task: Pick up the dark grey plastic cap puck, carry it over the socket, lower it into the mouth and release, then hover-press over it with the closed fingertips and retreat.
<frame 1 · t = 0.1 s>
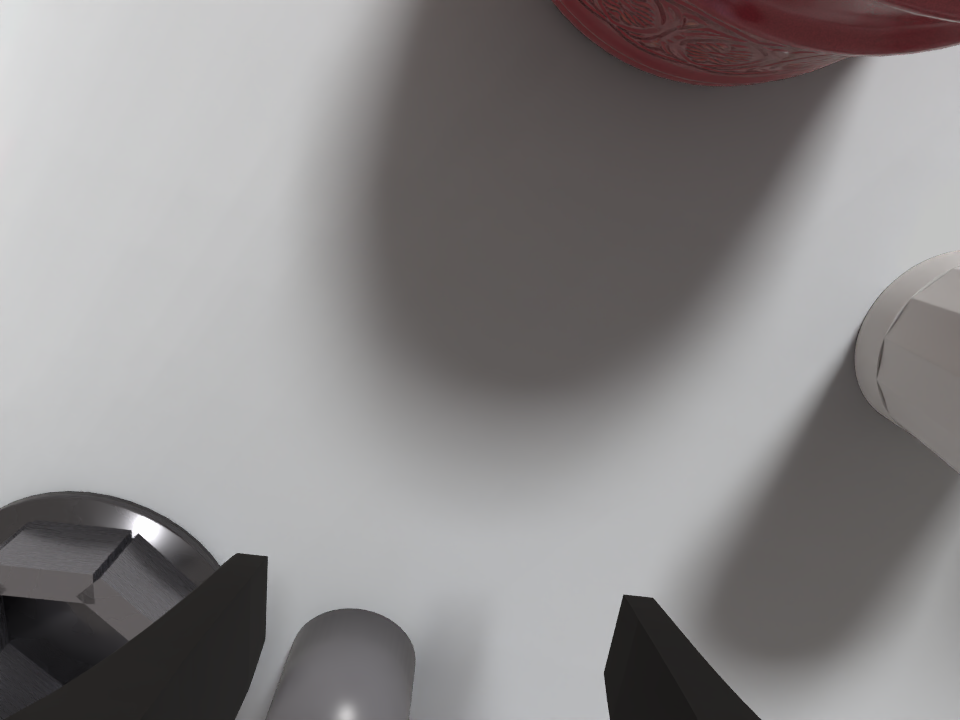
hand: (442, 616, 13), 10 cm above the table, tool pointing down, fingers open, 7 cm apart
cup: (945, 341, 22), on the table
cap: (353, 658, 26), on the table
socket: (99, 614, 25), on the table
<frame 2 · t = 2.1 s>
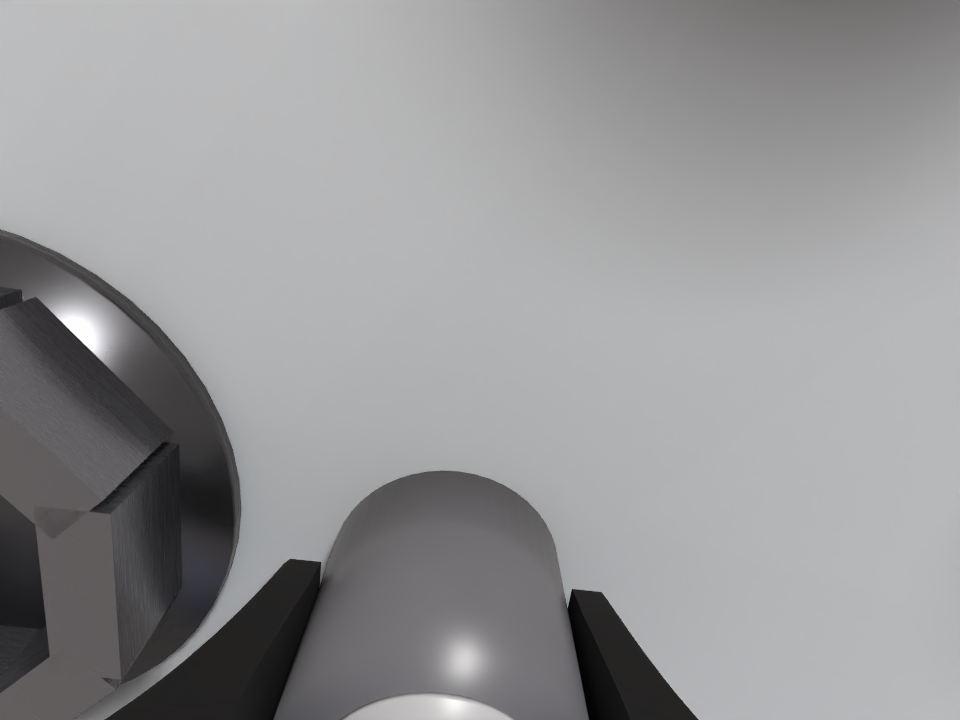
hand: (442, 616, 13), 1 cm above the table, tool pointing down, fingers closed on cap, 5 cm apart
cap: (445, 570, 14), on the table, touching gripper
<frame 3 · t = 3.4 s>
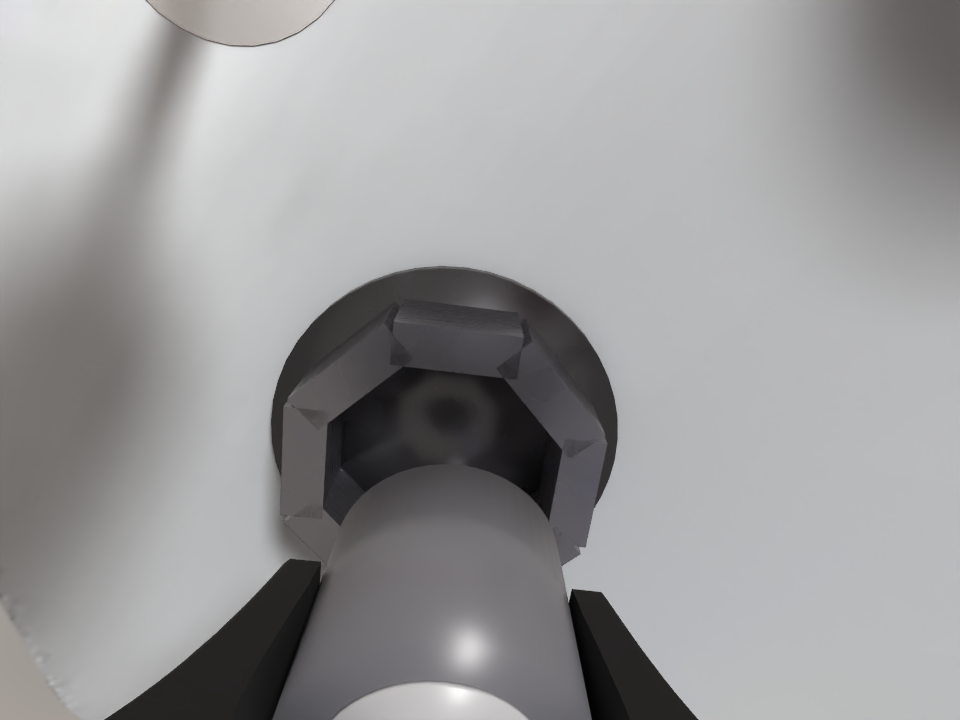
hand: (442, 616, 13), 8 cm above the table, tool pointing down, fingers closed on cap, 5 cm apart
cap: (446, 564, 14), point 7 cm above the table, touching gripper
socket: (445, 433, 21), on the table
when the fingers open (3 cm above the table, at t = 4.9 s): cap drops 1 cm, resting on socket.
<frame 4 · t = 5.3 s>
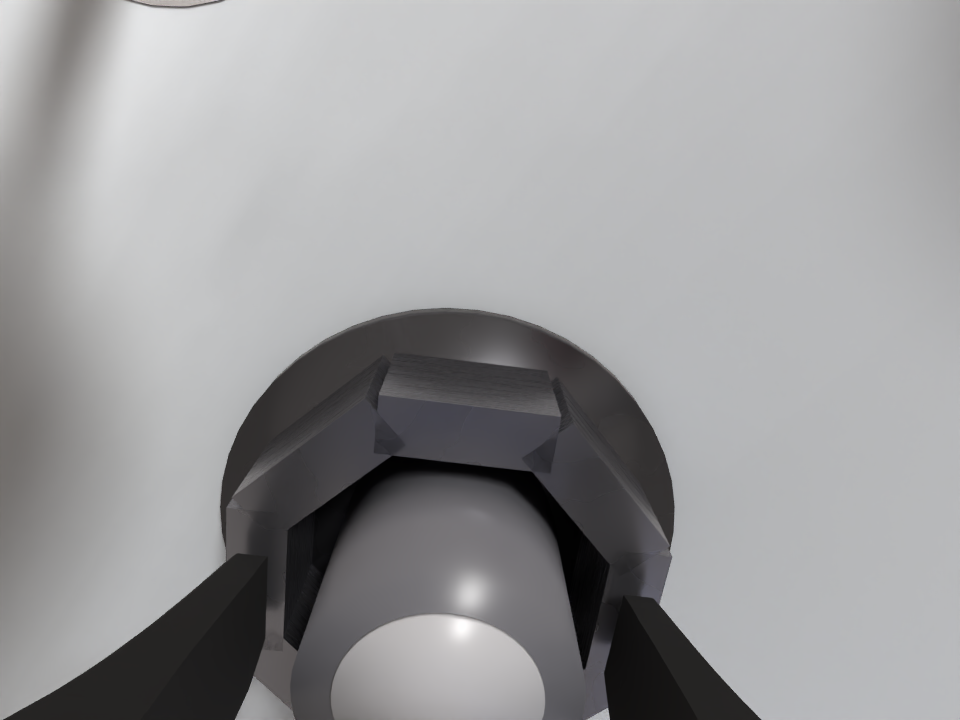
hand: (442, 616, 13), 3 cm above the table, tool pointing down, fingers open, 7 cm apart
cap: (449, 528, 16), resting on socket
socket: (449, 520, 16), on the table
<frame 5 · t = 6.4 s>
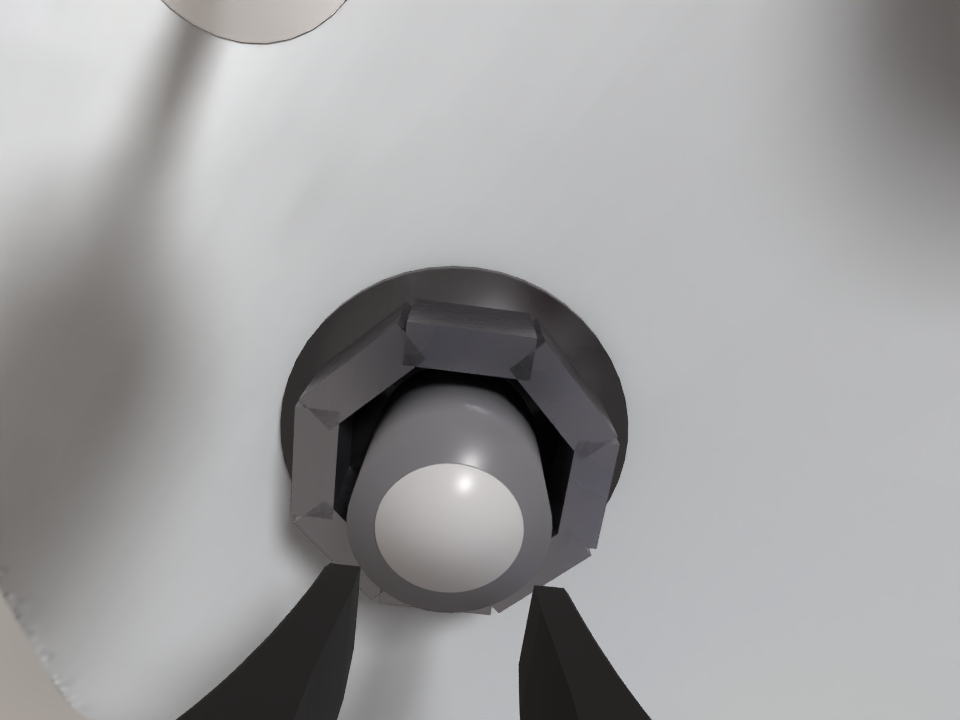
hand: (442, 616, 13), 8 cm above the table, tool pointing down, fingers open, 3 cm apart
cap: (456, 438, 20), point 1 cm above the table, touching socket
socket: (455, 434, 21), on the table
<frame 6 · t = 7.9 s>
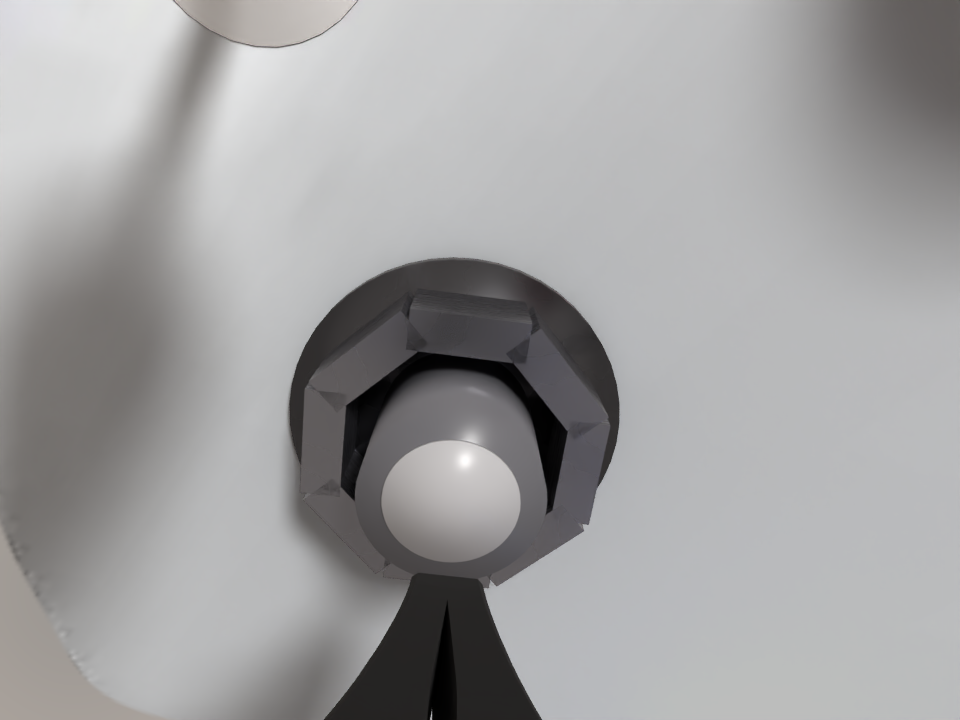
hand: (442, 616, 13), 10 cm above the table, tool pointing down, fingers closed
cap: (456, 421, 21), point 1 cm above the table, touching socket
socket: (455, 417, 22), on the table
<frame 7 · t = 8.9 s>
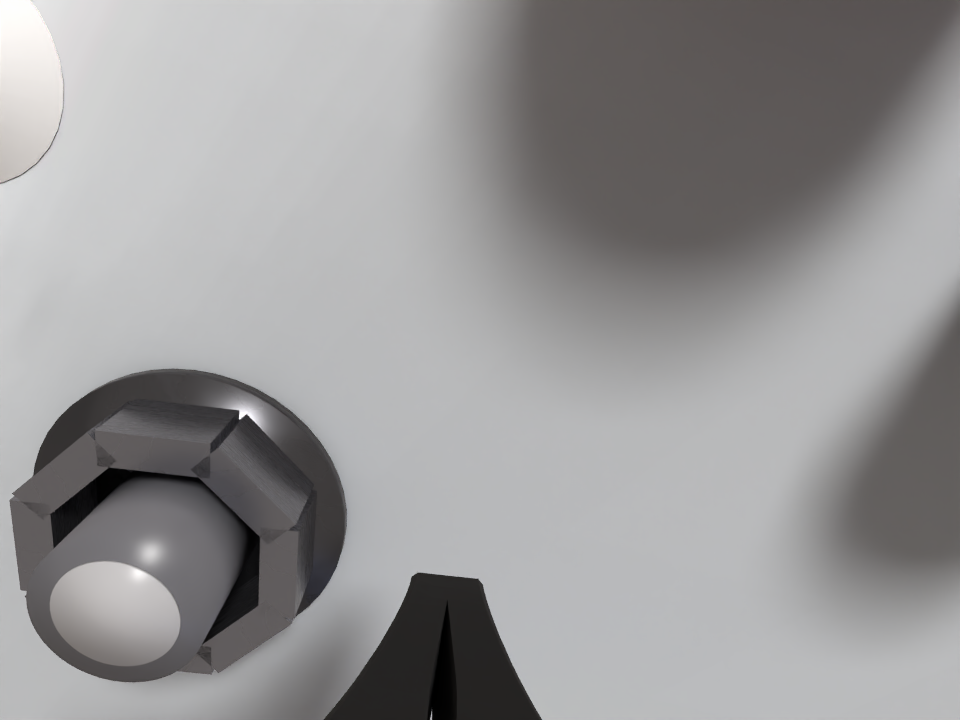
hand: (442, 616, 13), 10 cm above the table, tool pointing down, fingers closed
cap: (190, 515, 23), point 1 cm above the table, touching socket
socket: (196, 510, 23), on the table
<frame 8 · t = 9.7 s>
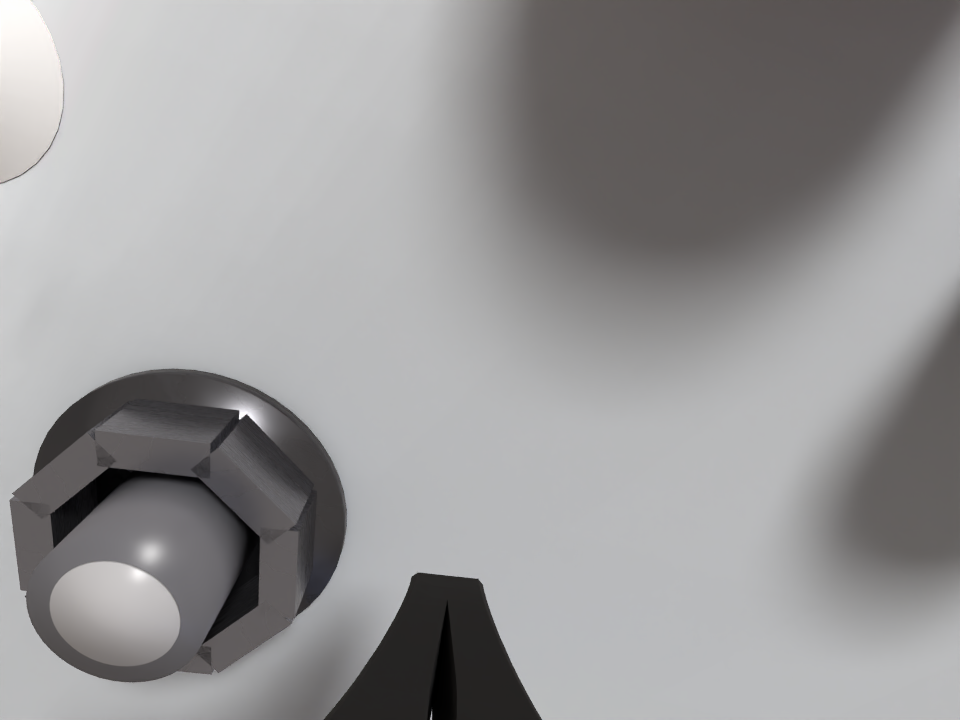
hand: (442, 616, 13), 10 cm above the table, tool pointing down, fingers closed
cap: (190, 515, 23), point 1 cm above the table, touching socket
socket: (196, 510, 23), on the table
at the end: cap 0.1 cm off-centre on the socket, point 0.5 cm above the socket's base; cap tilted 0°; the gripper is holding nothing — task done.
